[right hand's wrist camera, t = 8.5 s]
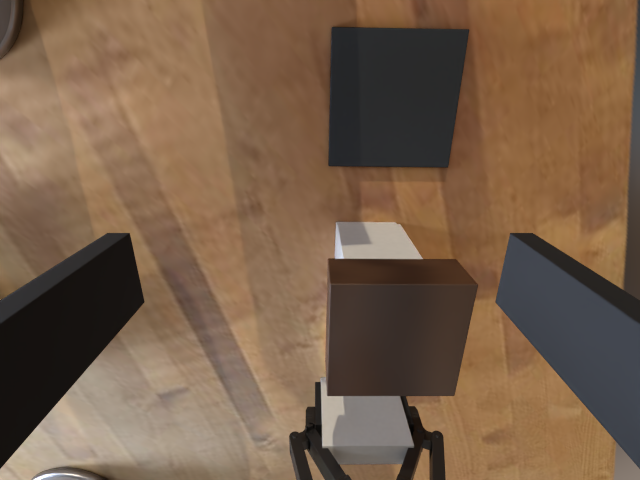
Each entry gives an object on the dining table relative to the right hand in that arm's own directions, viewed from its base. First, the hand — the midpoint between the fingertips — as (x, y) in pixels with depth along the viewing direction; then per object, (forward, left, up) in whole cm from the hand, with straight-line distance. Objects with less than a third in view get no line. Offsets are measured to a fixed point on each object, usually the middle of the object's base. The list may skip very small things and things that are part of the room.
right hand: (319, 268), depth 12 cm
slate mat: (+8, +5, -27) cm, 29 cm away
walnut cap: (+6, -11, -13) cm, 18 cm away
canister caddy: (+6, -21, -27) cm, 35 cm away
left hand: (+6, -31, -25) cm, 40 cm away
